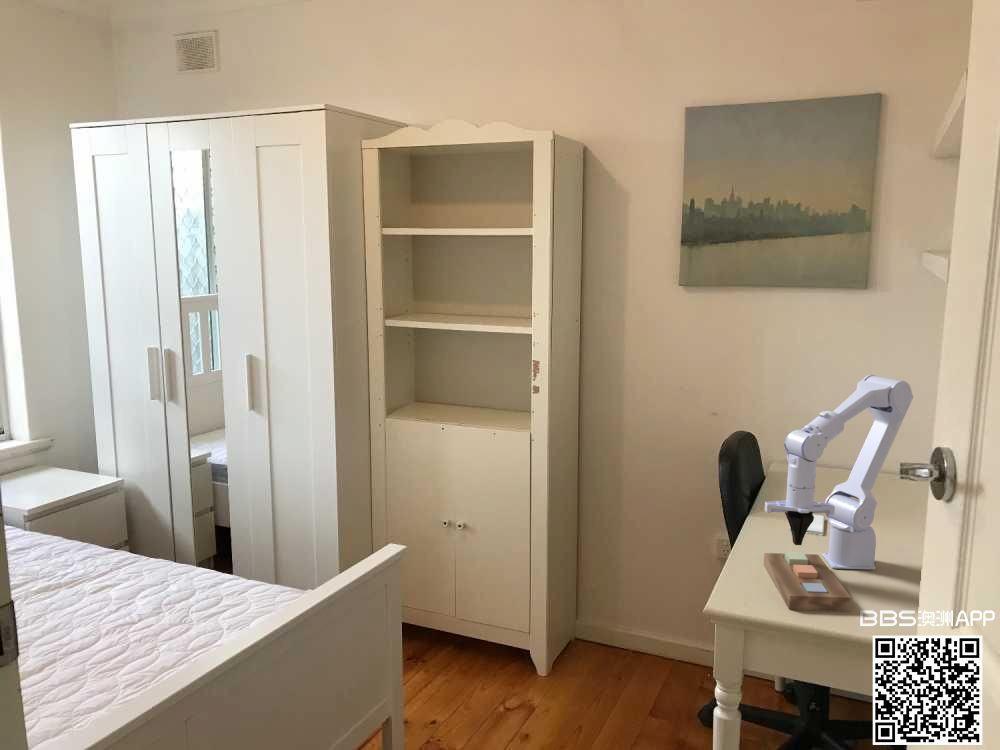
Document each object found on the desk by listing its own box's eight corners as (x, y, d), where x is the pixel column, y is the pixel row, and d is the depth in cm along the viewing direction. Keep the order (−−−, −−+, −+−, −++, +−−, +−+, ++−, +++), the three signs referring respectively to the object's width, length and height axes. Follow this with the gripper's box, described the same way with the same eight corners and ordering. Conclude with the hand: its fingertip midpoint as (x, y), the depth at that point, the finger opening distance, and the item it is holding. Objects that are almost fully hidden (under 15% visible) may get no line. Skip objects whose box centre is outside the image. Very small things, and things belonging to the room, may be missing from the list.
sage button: (802, 562, 183) (803, 552, 183) (807, 569, 179) (808, 559, 179) (784, 562, 184) (784, 552, 183) (788, 569, 180) (789, 559, 179)
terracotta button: (811, 575, 176) (812, 565, 176) (816, 583, 173) (817, 572, 172) (792, 574, 177) (793, 564, 176) (797, 582, 173) (798, 572, 172)
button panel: (817, 566, 185) (818, 554, 185) (850, 611, 164) (851, 597, 163) (763, 565, 186) (764, 553, 186) (789, 609, 165) (789, 595, 164)
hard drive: (791, 511, 218) (789, 527, 207) (824, 515, 215) (823, 531, 204) (791, 517, 219) (788, 533, 207) (824, 521, 216) (823, 537, 204)
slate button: (820, 594, 170) (821, 583, 169) (826, 602, 166) (827, 591, 165) (801, 593, 170) (801, 582, 170) (806, 602, 166) (807, 591, 166)
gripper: (771, 489, 175) (768, 549, 177) (840, 491, 174) (836, 551, 176) (763, 479, 182) (760, 537, 184) (830, 481, 181) (826, 539, 183)
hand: (797, 543), depth 181 cm, fingers closed
